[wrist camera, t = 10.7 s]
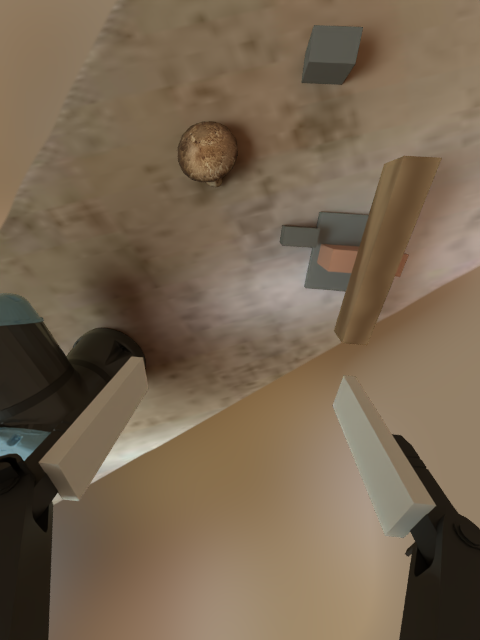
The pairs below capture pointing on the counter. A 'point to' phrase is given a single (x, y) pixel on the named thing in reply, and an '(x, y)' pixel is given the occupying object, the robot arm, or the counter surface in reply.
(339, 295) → the counter surface
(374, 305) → the rod
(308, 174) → the counter surface
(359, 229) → the fulcrum
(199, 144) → the mushroom
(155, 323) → the counter surface
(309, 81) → the grey blocks
